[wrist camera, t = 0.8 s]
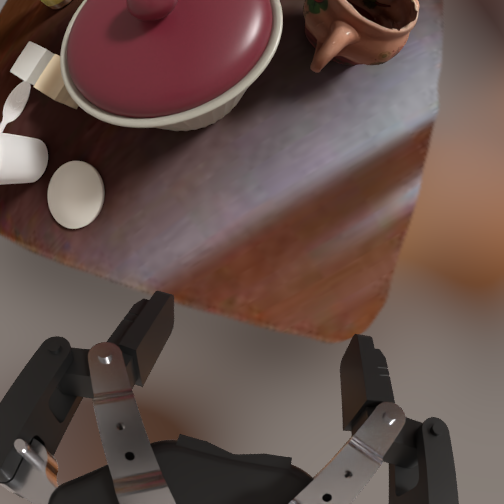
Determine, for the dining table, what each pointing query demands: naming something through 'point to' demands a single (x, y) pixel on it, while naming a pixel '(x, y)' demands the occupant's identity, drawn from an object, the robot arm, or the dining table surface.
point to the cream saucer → (76, 194)
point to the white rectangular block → (31, 62)
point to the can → (21, 159)
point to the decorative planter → (358, 30)
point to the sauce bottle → (56, 3)
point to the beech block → (54, 83)
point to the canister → (167, 58)
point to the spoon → (15, 103)
